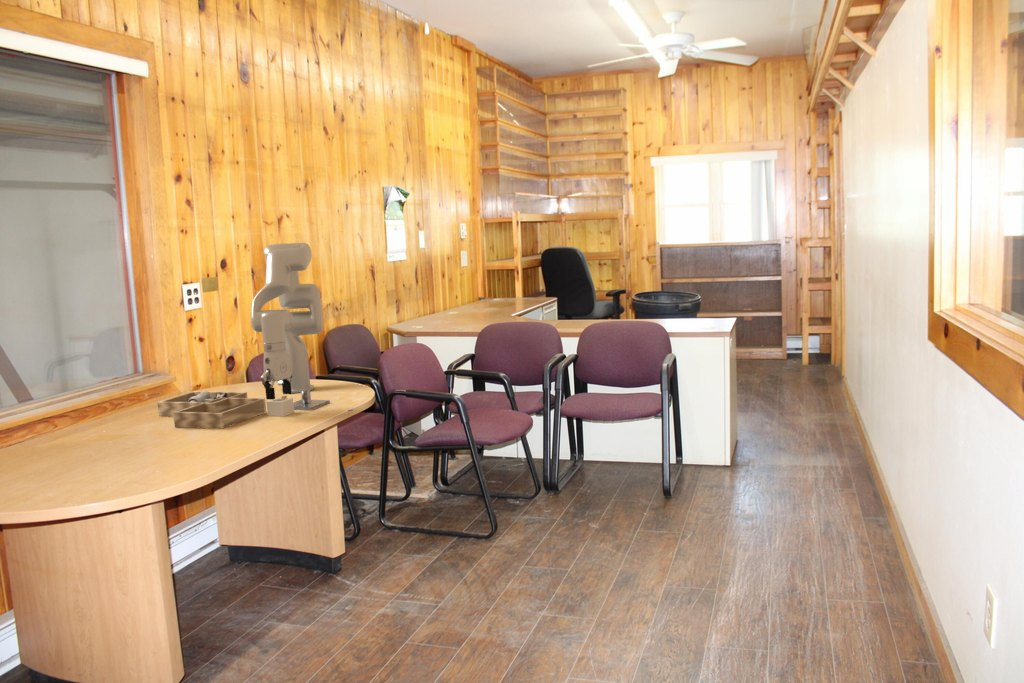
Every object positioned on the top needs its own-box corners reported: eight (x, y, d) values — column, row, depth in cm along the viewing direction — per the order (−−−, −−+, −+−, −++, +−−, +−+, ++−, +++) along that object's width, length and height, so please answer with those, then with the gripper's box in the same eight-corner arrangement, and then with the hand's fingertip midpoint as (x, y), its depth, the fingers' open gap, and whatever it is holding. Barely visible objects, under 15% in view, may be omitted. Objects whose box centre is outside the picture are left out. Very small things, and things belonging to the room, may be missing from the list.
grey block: (267, 415, 288) (266, 399, 287) (279, 411, 294) (277, 395, 293) (283, 416, 286) (282, 399, 285) (294, 412, 292) (293, 395, 291)
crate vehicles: (174, 427, 278) (173, 412, 277) (221, 411, 300) (220, 397, 300) (222, 428, 272) (220, 413, 271) (266, 412, 294) (264, 398, 293)
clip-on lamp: (206, 423, 294) (231, 401, 311) (204, 407, 292) (229, 385, 308) (175, 420, 296) (201, 399, 312) (173, 404, 293) (199, 383, 310)
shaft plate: (282, 409, 298) (281, 394, 297) (301, 402, 309) (300, 387, 308) (311, 410, 294) (310, 394, 293) (329, 402, 305) (328, 388, 304)
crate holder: (158, 415, 298) (157, 402, 297) (194, 404, 315) (193, 391, 315) (214, 417, 290) (213, 403, 289) (248, 405, 308) (246, 392, 307)
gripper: (269, 350, 277) (273, 401, 279) (298, 344, 293) (302, 392, 295) (250, 351, 279) (254, 401, 281) (280, 344, 296) (284, 392, 298)
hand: (279, 396), depth 288 cm, fingers open, 9 cm apart
